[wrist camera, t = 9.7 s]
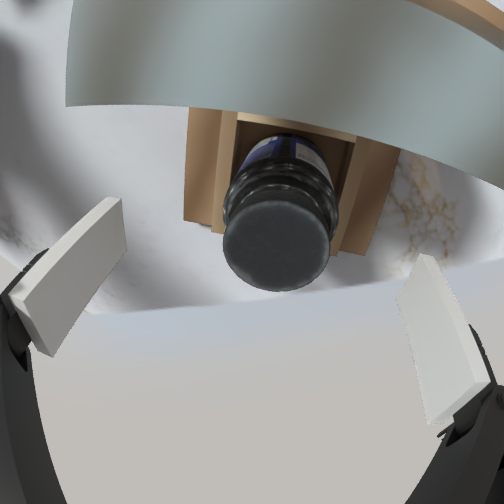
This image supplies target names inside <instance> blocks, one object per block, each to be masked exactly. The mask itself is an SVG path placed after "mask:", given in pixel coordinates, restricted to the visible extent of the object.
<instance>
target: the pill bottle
mask: <svg viewBox="0 0 504 504" xmlns="http://www.w3.org/2000/svg"><path fill="white" fill-rule="evenodd" d="M223 222H224V225H225V232H224V237H223V252H224V255H225V258H226V261H227V263H228V265H229V266H230V268H231V269H232V270H233V271H234V273H235V274H236V275H237V276H238V277H239V278H241V279H242V280H243V281H244V282H246V283H248V284H250V285H252V286H254V287H256V288H259V289H263V290H268V291H274V292H280V291H291V290H295V289H298V288H301V287H303V286H305V285H308V284H309V283H311V282H312V281H313V280H314V279H315V278H317V277H318V276H319V275H320V274H321V272H322V271H323V270H324V268H325V267H326V264H327V262H328V259H329V256H330V249H331V245H330V242H331V241H332V239H333V237H334V235H335V232H336V230H337V226H338V222H339V208H338V202H337V199H336V195H335V192H334V189H333V185H332V182H331V179H330V175H329V172H328V169H327V165H326V162H325V159H324V157H323V155H322V153H321V152H320V151H319V149H318V148H317V147H316V146H315V145H314V143H312V142H311V141H310V140H308V139H306V138H304V137H302V136H299V135H293V134H287V133H279V134H274V135H271V136H269V137H266V138H264V139H262V140H261V141H260V142H259V143H257V144H256V145H255V146H254V147H253V148H252V149H251V151H250V153H249V154H248V156H247V157H246V159H245V161H244V163H243V164H242V166H241V168H240V169H239V171H238V173H237V175H236V176H235V178H234V180H233V181H232V183H231V185H230V186H229V188H228V190H227V193H226V196H225V199H224V204H223Z"/></svg>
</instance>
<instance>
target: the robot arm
mask: <svg viewBox="0 0 504 504" xmlns="http://www.w3.org/2000/svg"><path fill="white" fill-rule="evenodd" d="M126 251H127V249H126V241H125V232H124V223H123V212H122V201H121V198H115V197H106V198H105V199H103V200H102V201H101V202H100V203H99V204H98V205H96V206H95V207H94V208H93V209H92V210H91V211H90V212H88V213H87V214H86V215H85V216H84V217H83V218H82V219H81V220H80V221H78V222H77V223H76V224H75V225H74V226H73V227H72V228H71V229H70V230H69V231H68V232H67V233H66V234H65V235H63V236H62V237H61V238H60V239H59V240H58V241H57V242H56V243H55V244H54V245H53V246H52V247H51V248H50V249H49V248H47V249H46V250H44V251H42V252H41V253H39V254H37V255H36V256H35V257H34V258H33V259H32V260H31V261H30V262H29V265H26V267H25V268H24V269H23V271H22V272H20V273H19V274H18V275H17V276H16V277H15V278H14V279H13V281H12V282H11V283H10V284H9V285H8V286H7V287H6V289H5V290H4V291H3V292H2V293H1V294H0V504H67V502H66V500H65V497H64V495H63V492H62V490H61V487H60V485H59V481H58V479H57V476H56V473H55V470H54V467H53V463H52V460H51V457H50V453H49V450H48V446H47V443H46V439H45V435H44V431H43V427H42V422H41V418H40V413H39V408H38V403H37V397H36V391H35V385H34V378H33V370H32V362H31V353H30V350H29V348H28V345H29V343H30V342H31V340H32V342H33V343H34V345H35V347H36V348H37V350H38V351H40V352H42V353H44V354H46V355H48V356H50V357H53V356H54V355H55V353H56V352H57V350H58V348H59V347H60V345H61V343H62V342H63V340H64V339H65V337H66V336H67V334H68V332H69V331H70V329H71V328H72V326H73V325H74V323H75V322H76V320H77V318H78V317H79V316H80V314H81V313H82V311H83V310H84V308H85V307H86V305H87V304H88V303H89V301H90V300H91V298H92V297H93V295H94V294H95V293H96V291H97V290H98V288H99V287H100V286H101V284H102V283H103V281H104V280H105V279H106V277H107V276H108V275H109V273H110V272H111V270H112V269H113V268H114V266H115V265H116V264H117V263H118V261H119V260H120V259H121V257H122V256H123V255H124V253H125V252H126ZM396 301H397V304H398V308H399V311H400V314H401V317H402V320H403V324H404V327H405V331H406V334H407V338H408V341H409V345H410V349H411V353H412V357H413V360H414V364H415V369H416V373H417V377H418V381H419V386H420V390H421V395H422V400H423V405H424V410H425V415H426V421H427V425H430V424H441V423H444V422H445V421H446V420H448V419H449V418H450V417H451V416H452V415H453V418H454V423H452V424H451V425H450V426H448V427H447V428H445V429H444V430H443V431H441V432H440V433H439V434H438V435H437V437H438V438H439V437H440V436H442V435H443V434H445V433H446V434H445V436H444V438H443V439H442V442H441V444H440V446H439V448H438V450H437V452H436V454H435V456H434V457H433V459H432V461H431V463H430V464H429V466H428V468H427V470H426V472H425V473H424V475H423V476H422V478H421V480H420V482H419V483H418V484H417V486H416V488H415V489H414V491H413V492H412V494H411V495H410V497H409V498H408V500H407V501H406V503H405V504H504V386H502V385H497V382H496V379H495V377H494V374H493V371H492V368H491V366H490V363H489V361H488V358H487V355H485V350H484V348H483V347H482V343H481V341H480V339H479V337H478V334H477V333H476V331H475V330H474V329H473V328H472V326H471V325H470V324H468V323H467V321H466V319H465V317H464V314H463V312H462V310H461V308H460V306H459V304H458V302H457V300H456V298H455V296H454V294H453V292H452V290H451V288H450V286H449V284H448V282H447V280H446V278H445V277H444V275H443V273H442V271H441V269H440V267H439V266H438V264H437V262H436V260H435V259H434V257H433V256H430V255H426V254H421V253H420V254H419V256H418V258H417V260H416V262H415V264H414V266H413V268H412V270H411V272H410V274H409V276H408V278H407V280H406V282H405V284H404V286H403V288H402V289H401V291H400V293H399V295H398V297H397V299H396Z"/></svg>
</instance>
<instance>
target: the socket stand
mask: <svg viewBox="0 0 504 504" xmlns="http://www.w3.org/2000/svg"><path fill="white" fill-rule="evenodd" d="M86 105H166V106H183V107H189V117H188V130H187V145H186V163H185V185H184V221H190V222H195V223H201V224H206V225H211V226H212V229H211V232H214V233H220V234H224V232H225V225H224V222H223V204H224V199H225V196H226V193H227V190H228V188H229V186H230V185H231V183H232V181H233V180H234V178H235V176H236V175H237V173H238V171H239V169H240V168H241V166H242V164H243V163H244V161H245V159H246V157H247V156H248V154H249V153H250V151H251V149H252V148H253V147H254V146H255V145H256V144H257V143H259V142H260V141H261V140H262V139H264V138H266V137H269V136H271V135H274V134H279V133H287V134H293V135H299V136H302V137H304V138H306V139H308V140H310V141H311V142H312V143H314V145H315V146H316V147H317V148H318V149H319V151H320V152H321V153H322V155H323V157H324V159H325V162H326V165H327V169H328V172H329V175H330V179H331V182H332V185H333V189H334V192H335V195H336V199H337V202H338V208H339V222H338V226H337V230H336V232H335V235H334V237H333V239H332V241H331V242H330V245H331V249H330V255H332V256H337V254H338V251H339V250H340V251H344V252H349V253H354V254H359V255H364V256H365V253H366V251H367V248H368V246H369V243H370V240H371V238H372V235H373V232H374V230H375V227H376V224H377V221H378V219H379V216H380V213H381V210H382V207H383V204H384V201H385V198H386V195H387V192H388V189H389V186H390V183H391V180H392V177H393V174H394V170H395V167H396V164H397V160H398V157H399V154H400V150H401V149H404V150H407V151H410V152H413V153H416V154H419V155H422V156H425V157H428V158H430V159H433V160H436V161H438V162H441V163H444V164H446V165H449V166H451V167H454V168H456V169H459V170H461V171H463V172H466V173H468V174H470V175H473V176H475V177H477V178H480V179H482V180H484V181H486V182H488V183H490V184H493V185H495V186H497V187H499V188H501V189H503V190H504V12H502V11H501V10H499V9H498V8H496V7H495V6H493V5H492V4H490V3H489V2H487V1H486V0H74V2H73V8H72V15H71V22H70V30H69V39H68V50H67V66H66V107H69V106H86Z"/></svg>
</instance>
